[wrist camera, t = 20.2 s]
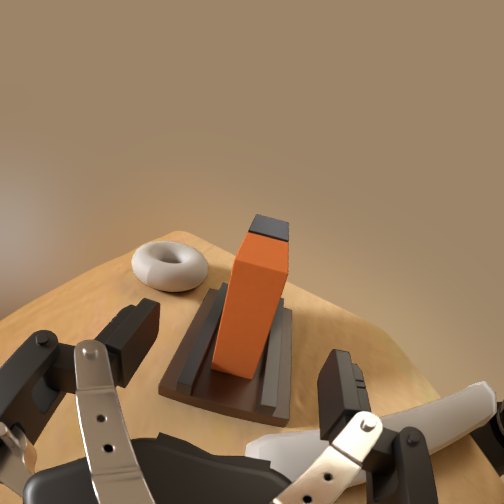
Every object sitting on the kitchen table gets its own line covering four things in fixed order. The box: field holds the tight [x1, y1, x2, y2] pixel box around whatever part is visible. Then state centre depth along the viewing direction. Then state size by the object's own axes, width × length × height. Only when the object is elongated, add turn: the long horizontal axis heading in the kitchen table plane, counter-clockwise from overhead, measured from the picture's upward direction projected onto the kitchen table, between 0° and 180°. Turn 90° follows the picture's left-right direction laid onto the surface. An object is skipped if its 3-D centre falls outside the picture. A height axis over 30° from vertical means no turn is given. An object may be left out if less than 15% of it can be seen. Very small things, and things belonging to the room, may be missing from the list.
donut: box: [132, 241, 208, 292], centre depth 35 cm, size 10×4×10 cm
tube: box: [245, 381, 497, 488], centre depth 16 cm, size 5×5×25 cm
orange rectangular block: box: [211, 232, 289, 379], centre depth 22 cm, size 4×6×10 cm, turn 172°
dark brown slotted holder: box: [158, 214, 292, 427], centre depth 24 cm, size 10×16×11 cm, turn 172°
